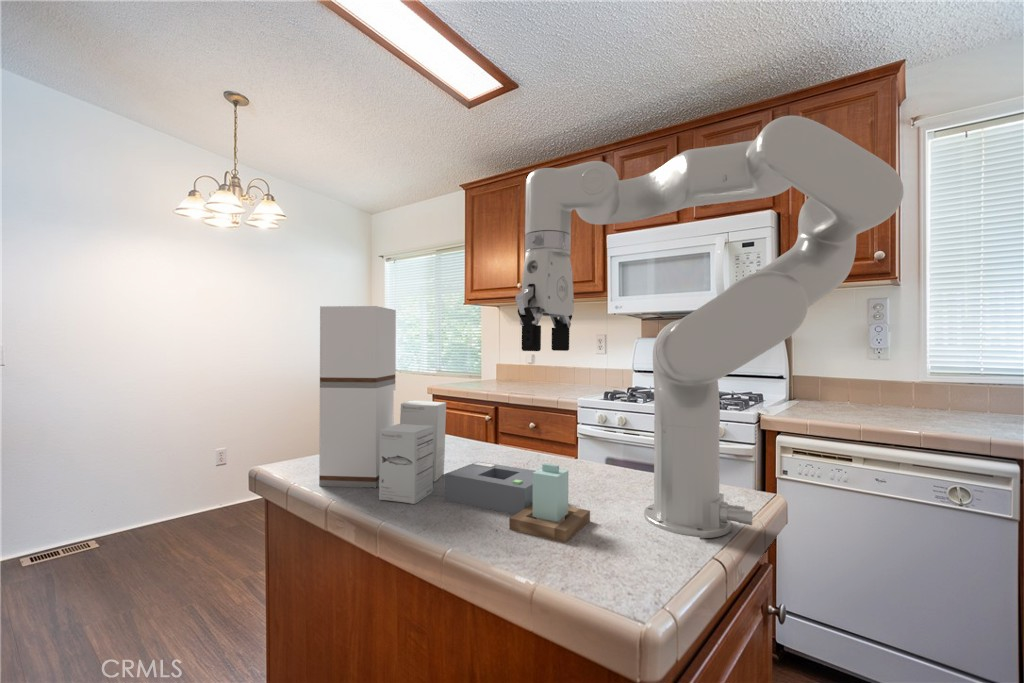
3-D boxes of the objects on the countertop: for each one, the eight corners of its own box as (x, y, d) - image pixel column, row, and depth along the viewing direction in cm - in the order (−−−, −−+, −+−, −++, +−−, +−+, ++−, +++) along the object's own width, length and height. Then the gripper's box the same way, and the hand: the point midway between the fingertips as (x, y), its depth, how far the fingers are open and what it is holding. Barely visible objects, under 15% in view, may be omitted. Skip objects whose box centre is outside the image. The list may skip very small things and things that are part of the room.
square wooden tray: (589, 525, 72) (590, 510, 72) (565, 546, 64) (565, 530, 64) (537, 513, 76) (537, 500, 76) (509, 533, 69) (509, 518, 69)
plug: (568, 523, 71) (568, 463, 71) (556, 532, 67) (557, 469, 67) (544, 518, 73) (544, 460, 73) (532, 526, 69) (532, 466, 69)
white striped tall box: (395, 472, 100) (395, 310, 101) (375, 487, 90) (376, 306, 90) (344, 471, 102) (344, 310, 102) (319, 486, 91) (320, 306, 91)
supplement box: (377, 501, 83) (377, 429, 83) (399, 488, 90) (399, 422, 90) (414, 505, 80) (415, 431, 80) (434, 492, 87) (434, 424, 87)
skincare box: (397, 480, 95) (397, 403, 95) (408, 471, 101) (409, 399, 101) (437, 482, 94) (437, 404, 94) (446, 473, 100) (446, 400, 100)
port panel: (552, 501, 82) (552, 471, 82) (524, 520, 74) (524, 486, 74) (477, 487, 90) (477, 459, 90) (444, 502, 82) (445, 472, 82)
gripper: (541, 234, 68) (539, 351, 68) (590, 253, 82) (589, 350, 82) (499, 239, 72) (497, 350, 72) (552, 257, 87) (551, 350, 87)
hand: (546, 350), depth 77 cm, fingers open, 9 cm apart
